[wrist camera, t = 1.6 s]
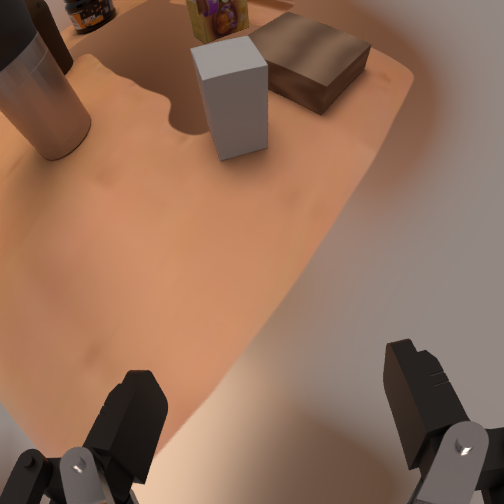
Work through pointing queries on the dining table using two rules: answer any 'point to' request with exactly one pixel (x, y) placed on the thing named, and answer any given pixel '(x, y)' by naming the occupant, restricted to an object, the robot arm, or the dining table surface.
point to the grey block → (234, 95)
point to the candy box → (217, 18)
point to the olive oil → (49, 33)
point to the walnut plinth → (309, 59)
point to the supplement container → (89, 13)
